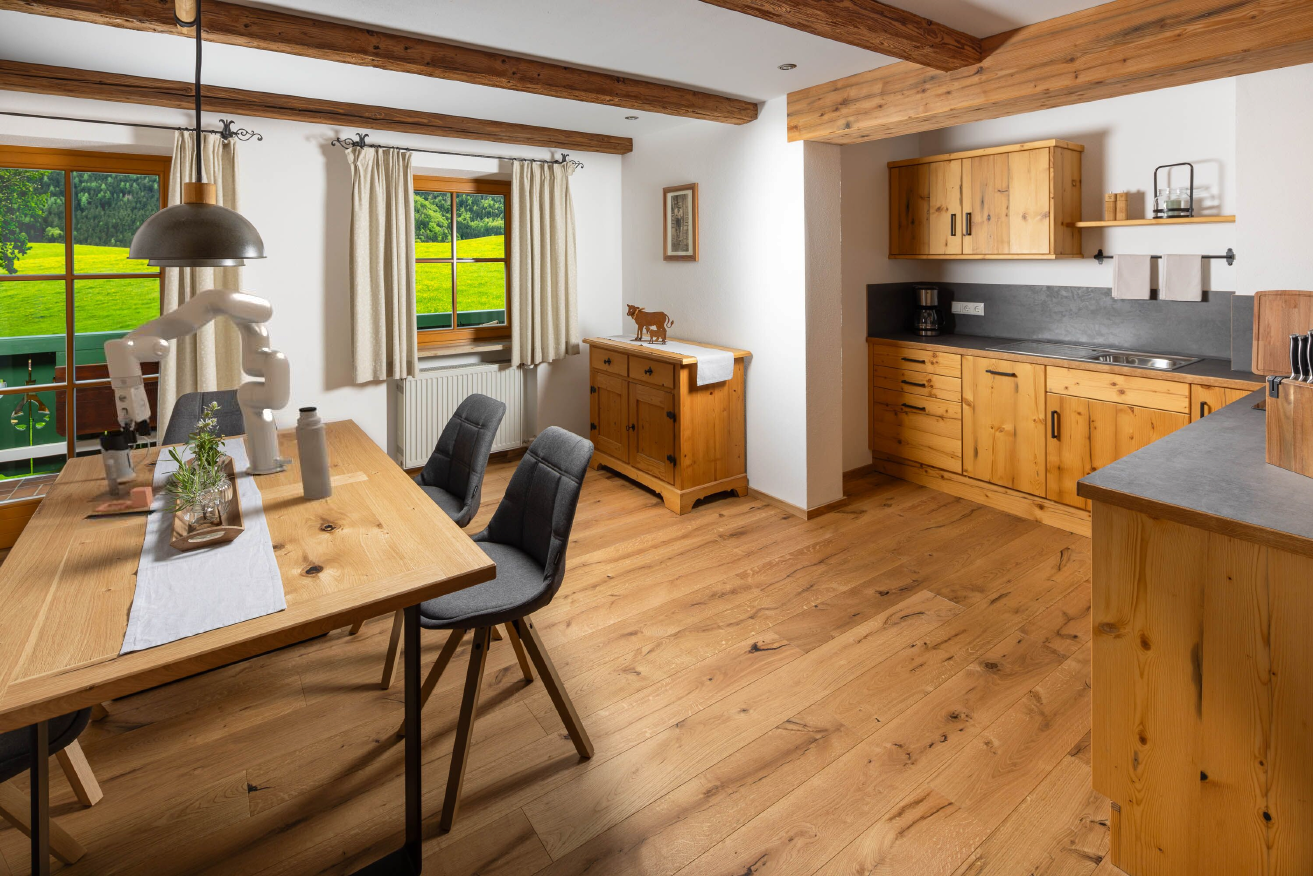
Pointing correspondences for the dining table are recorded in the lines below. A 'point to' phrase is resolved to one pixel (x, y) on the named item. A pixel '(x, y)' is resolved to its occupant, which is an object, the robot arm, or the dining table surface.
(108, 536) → the dining table surface
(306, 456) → the thermos bottle
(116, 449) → the grey mug
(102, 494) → the stand
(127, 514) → the slate mat
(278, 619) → the dining table surface
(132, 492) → the pink l-shaped piece
